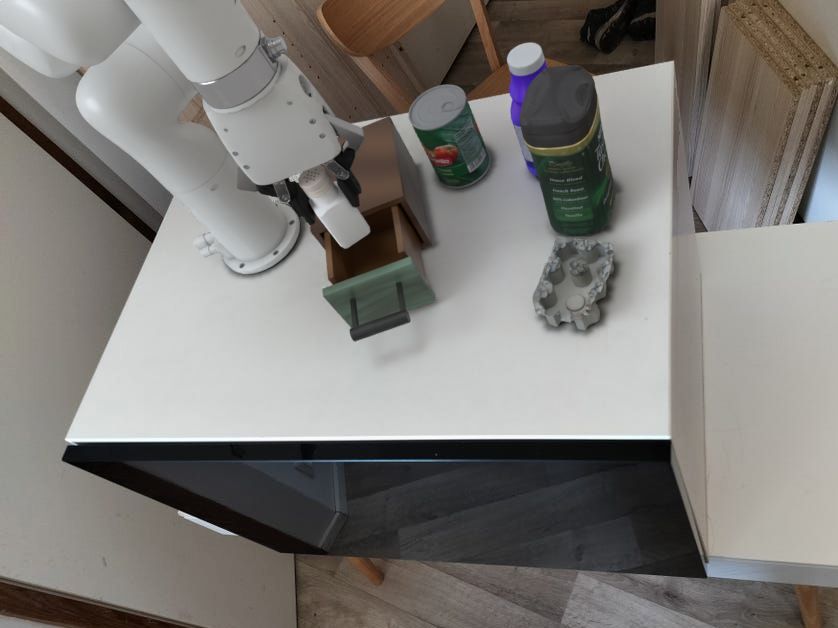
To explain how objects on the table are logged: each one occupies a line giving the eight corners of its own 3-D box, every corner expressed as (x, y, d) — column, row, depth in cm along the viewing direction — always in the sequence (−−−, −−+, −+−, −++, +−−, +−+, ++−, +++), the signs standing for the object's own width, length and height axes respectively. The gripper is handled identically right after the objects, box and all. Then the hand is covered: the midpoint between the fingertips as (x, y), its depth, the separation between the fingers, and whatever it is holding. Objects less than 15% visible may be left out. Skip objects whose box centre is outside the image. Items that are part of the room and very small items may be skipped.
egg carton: (595, 335, 75) (589, 316, 72) (533, 324, 79) (524, 305, 75) (622, 258, 79) (617, 236, 76) (562, 250, 82) (555, 229, 79)
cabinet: (432, 245, 90) (403, 196, 82) (346, 276, 92) (310, 231, 84) (417, 166, 98) (389, 115, 90) (338, 197, 100) (305, 149, 92)
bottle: (587, 148, 90) (559, 33, 75) (578, 181, 87) (548, 69, 73) (535, 150, 92) (499, 39, 78) (525, 181, 90) (486, 74, 76)
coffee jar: (610, 239, 81) (582, 120, 66) (547, 239, 84) (506, 125, 69) (622, 178, 85) (598, 52, 70) (561, 180, 88) (525, 60, 73)
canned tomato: (432, 190, 95) (400, 131, 86) (445, 148, 98) (416, 87, 89) (484, 187, 92) (457, 126, 83) (496, 145, 95) (472, 81, 86)
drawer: (443, 338, 81) (418, 302, 74) (356, 368, 82) (325, 335, 76) (420, 218, 92) (397, 177, 85) (345, 246, 93) (316, 209, 87)
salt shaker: (332, 232, 80) (289, 176, 72) (361, 213, 80) (320, 155, 72) (344, 252, 78) (301, 196, 70) (373, 233, 78) (333, 174, 70)
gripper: (318, 10, 61) (400, 157, 76) (157, 82, 64) (266, 210, 79) (322, 58, 57) (408, 203, 72) (150, 133, 60) (267, 258, 75)
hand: (333, 206), depth 75 cm, fingers closed on salt shaker, 4 cm apart
